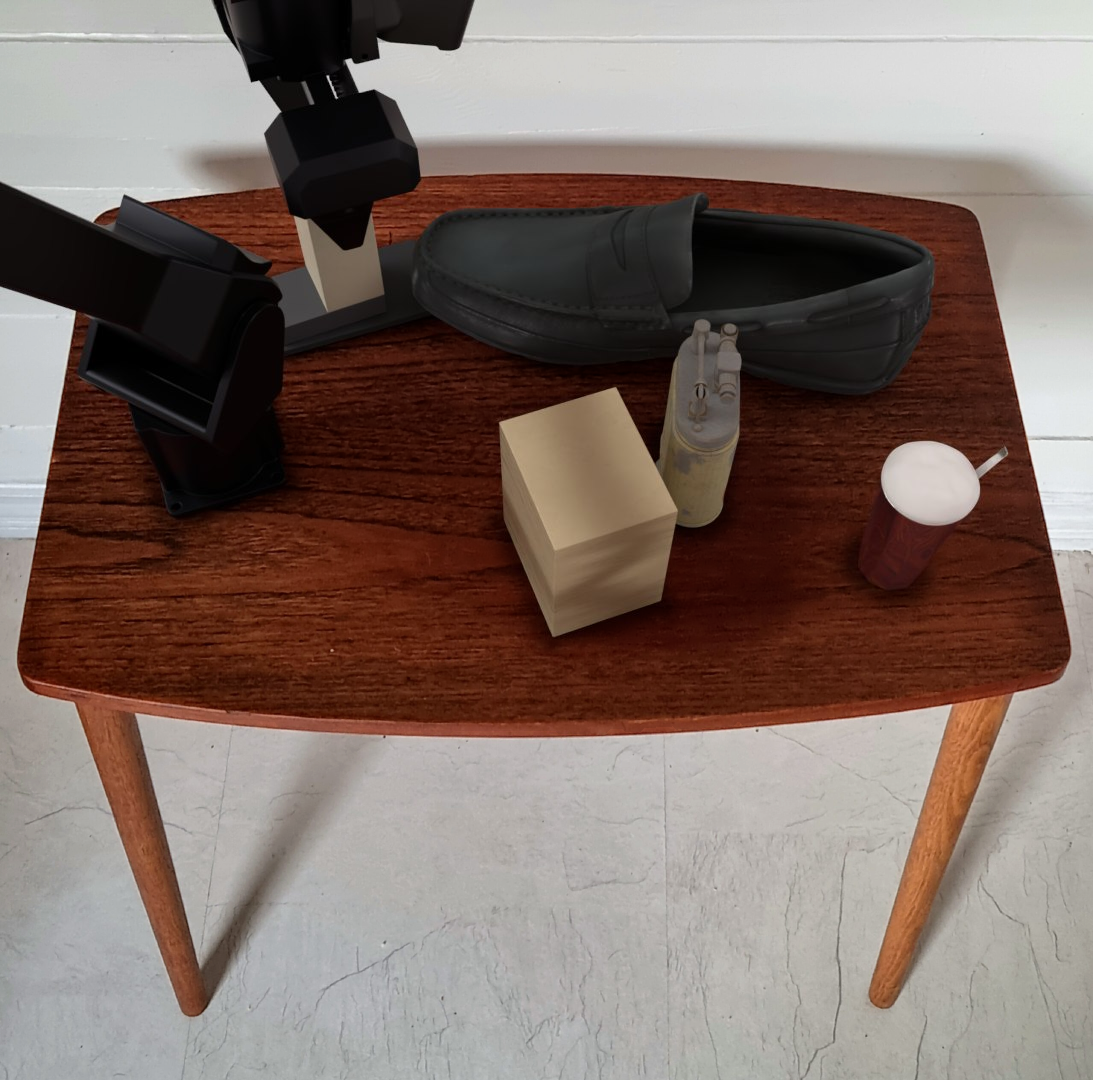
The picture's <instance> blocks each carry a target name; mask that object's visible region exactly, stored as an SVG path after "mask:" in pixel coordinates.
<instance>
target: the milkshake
mask: <svg viewBox="0 0 1093 1080" xmlns="http://www.w3.org/2000/svg"><path fill="white" fill-rule="evenodd" d="M1008 455H1009V452H1008V449H1007V447H1006V446H1005V445H1004V446H1003V447H1001V448H1000V449H999V450H997V451H996V453H994V454H993V455H992V456H991V457H989V458H988V459H987V460H986V461H984V462H983V463H982V464H981V465H979V467H977V468H976V469H975V468H974V466H973V464H972V463H971V461H969V459H968V458H967V457H966V456H965V454H963V453H962V452H961V451H959V450H958V449H956V448H954V447H952V446H950V445H948V444H946V443H942V442H938V441H933V440H922V441H921V440H920V441H910V442H905V443H904V444H901V445H899V446H897V447H896V448H895V449H893V450H892V451H891V452H890V453H889V454H888V456H887V458H886V459H885V461H884V463H883V466H882V468H881V472H880V477H879V480H878V485H877V488H876V493H875V496H874V500H873V504H872V507H871V510H870V513H869V516H868V520H867V523H866V526H865V529H864V532H863V535H862V540H861V542H860V545H859V549H858V569H859V571H860V572H861V574H863V576H864V578H865V579H866V580H867V581H868V583H869V584H871V585H874V586H876V587H878V588H880V589H883V590H885V591H895V590H901V589H907V588H908V587H909V586H910V585H912V583H913V582H914V581H915V580H916V579H917V578H918V577H919V576H920V575H921V573H923V571H924V569H925V568H927V566H928V564H929V563H930V562H931V560H932V559H933V558H934V556H935V555H936V554H937V552H938V551H939V550H940V549H941V547H942V546H943V544H944V543H945V542H946V540H947V539H948V538H949V537H950V536H951V535H953V532H955V530H957V528H958V527H959V526H960V524H961V523H962V522H963V521H964V520H965V519H966V518H967V516H968V515H969V514H970V513H971V512H972V510H973V509H974V508H975V506H976V505H977V503H978V501H979V498H980V495H981V486H980V480H979V479H980V478H981V477H983V476H984V475H985V474H986V473H987V472H989V471H990V470H991V469H993V468H994V467H995V466H996V465H998V463H999V462H1001V461H1002V460H1004V458H1006V457H1007V456H1008Z"/></svg>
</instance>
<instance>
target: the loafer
mask: <svg viewBox="0 0 1093 1080" xmlns="http://www.w3.org/2000/svg"><path fill="white" fill-rule="evenodd" d="M709 206H710V198H709V196H708V195H707V194H706V193H704V192H700V191H699V192H697V193H694V194H691V195H688V196H685V197H682V198H679V199H676V200H672V201H669V202H667V203H657V204H648V205H647V204H645V205H644V204H643V205H641V204H640V205H620V206H615V205H600V206H594V207H593V206H592V207H591V206H584V207H581V206H579V207H482V208H481V207H480V208H461V209H453V210H452V211H446V212H444V213H441V214H440V215H439V216H437V217H435V218H434V219H433V220H432V221H431V222H430V223H429V225H428V226H427V227H426V228H425V229H423V231H422V233H421V234H420V235H419V237H418V239H417V241H415V242H416V245H415V247H414V251H413V256H412V262H411V270H410V277H411V282H412V291H413V294H414V296H415V298H416V299H417V301H418V302H419V303H420V304H421V306H422V307H424V308H425V309H426V310H427V311H429V312H430V313H431V314H433V315H432V316H434V317H435V318H437V319H438V320H441V321H442V322H444V323H445V324H447V325H449V326H450V327H452V328H454V329H456V330H458V331H460V332H462V333H464V334H465V335H467V336H469V337H471V338H472V339H474V340H476V341H479V342H481V343H483V344H485V345H487V346H490V347H493V348H496V349H497V350H500V351H504V352H506V353H510V354H513V355H517V356H521V357H524V358H525V359H527V360H533V361H536V362H541V363H546V364H552V365H553V364H555V365H569V366H580V367H581V366H583V367H584V366H588V365H589V366H594V365H604V364H614V363H619V362H625V361H627V362H628V361H629V362H639V361H640V362H641V361H644V360H645V361H646V360H652V359H658V358H668V357H677V356H678V352H679V349H680V347H681V345H682V344H683V342H684V341H685V340H686V339H687V338H689V337H690V336H692V333H693V331H694V325H695V322H696V321H697V320H700V319H704V320H707V321H708V322H709V323H710V332H715V333H718V334H720V333H721V329H722V326H723V325H725V324H734V325H735V326H736V327H737V328H738V335H737V339H736V345H735V347H736V349H737V351H738V353H740V356H741V368H740V371H742V372H744V373H747V374H748V375H751V376H753V377H756V378H759V379H768V380H770V381H772V382H774V383H777V384H781V385H785V386H789V387H794V388H798V389H803V390H809V391H815V392H824V393H829V394H838V395H845V396H846V395H847V396H863V395H869V394H872V393H875V392H877V391H880V390H881V389H884V388H885V387H886V386H889V385H890V384H891V383H893V382H895V380H896V379H897V378H898V376H899V375H900V373H901V372H902V370H903V368H904V367H905V366H906V365H907V364H908V362H909V360H910V358H911V356H912V354H913V352H914V350H915V349H916V348H917V346H918V344H919V342H920V341H921V337H922V335H923V332H924V329H925V328H926V327H927V325H928V323H929V322H930V320H931V316H932V315H931V314H932V312H933V306H932V305H933V301H932V296H931V292H932V291H933V289H934V284H935V269H936V262H935V257H934V255H933V254H932V251H930V249H929V248H928V247H926V246H925V245H922V244H921V243H918V242H917V241H914V240H912V239H911V238H908V237H906V236H903V235H900V234H897V233H894V232H889V231H885V230H879V229H874V228H871V227H868V226H865V225H860V224H857V223H851V222H845V221H839V220H838V221H837V220H829V219H828V220H827V219H819V218H811V217H804V216H797V215H784V214H771V213H761V212H756V211H750V210H746V209H738V208H725V207H721V208H720V207H709Z"/></svg>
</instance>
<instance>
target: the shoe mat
mask: <svg viewBox="0 0 1093 1080" xmlns="http://www.w3.org/2000/svg"><path fill="white" fill-rule="evenodd" d="M416 242H417V241H416V240H415V239H414V238H412V239H407V240H404V241H400V242H397V243H392V244H389V245H386V246H381V247H377V250H378V256H379V262H380V268H381V275H382V281H383V287H384V294H385V299H386V306H387V312H384V313H381V314H378V315H375V316H372V317H369V318H366V319H363V320H360V321H357V322H354V323H351V324H348V325H345V326H342V327H339V328H336V329H333V330H330V331H327V332H324V333H321V334H318V335H315V336H312V337H309V338H306V339H303V340H300V341H297V342H294V343H291V344H288V345H285V346H284V358H285V357H287V356H291V355H295V354H298V353H302V352H306V351H309V350H313V349H316V348H321V347H324V346H327V345H330V344H334V343H338V342H341V341H345V340H348V339H352V338H355V337H359V336H364V335H365V334H370V333H374V332H376V331H380V330H381V331H382V330H384V329H387V328H391V327H394V326H399V325H401V324H405V323H408V322H412V321H415V320H419V319H423V318H426V317H430V316H434V315H433V314H431V313H430V312H429V311H427V310H426V309H425V308H424V307H422V306H421V304H420V303H419V302H418V301H417V299H416V298H415V296H414V294H413V291H412V282H411V277H410V270H411V262H412V256H413V251H414V247H415V245H416Z"/></svg>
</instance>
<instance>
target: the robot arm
mask: <svg viewBox="0 0 1093 1080" xmlns="http://www.w3.org/2000/svg"><path fill="white" fill-rule="evenodd" d="M475 2H476V0H211V3H212V6H213V9H214V10H215V12H216V15H217V17H218V20H219V23H220V26H221V28H222V31H223V33H224V34H225V35H226V37H227V38H228V40H229V41H230V43H231V44H232V46H234V48H235V50H236V51H237V52H238V54H239V55H240V58H241V60H242V62H243V66H244V68H245V70H246V73H247V76H248V79H249V81H250V83H256V82H259V83H260V85H261V86H262V87H263V88H264V90H265V91H266V93H267V94H268V95H269V97H270V98H271V100H272V101H273V102H274V104H275V106H276V107H277V108H278V110H279V111H280V112H279V113H278V114H277V115H276V117H275V118H274V119H273V121H272V122H271V124H270V125H269V126H268V127H267V128H266V130H265V131H264V133H263V135H264V140H265V144H266V148H267V151H268V156H269V158H270V162H271V164H272V168H273V171H274V174H275V175H274V176H275V178H276V181H277V184H278V186H279V188H280V192H281V194H282V196H283V199H284V202H285V205H286V208H287V210H288V214H289V215H290V216H293V217H294V216H296V217H299V218H301V219H304V220H306V219H311V220H312V221H313V222H314V223H315V224H316V225H317V226H318V227H319V228H320V229H321V230H322V231H323V232H324V233H325V234H326V235H328V236H329V237H330V238H331V239H332V240H333V241H334V242H335V243H336V244H337V245H338V246H339V247H340V248H341V249H342V250H344V251H347V250H351V249H355V248H358V247H361V246H362V245H363V244H364V240H365V235H366V231H367V227H368V223H369V219H370V215H371V213H372V210H373V206H374V204H375V203H376V202H379V201H381V200H385V199H389V198H393V197H397V196H400V195H401V196H402V195H405V194H409V193H412V192H414V191H415V189H416V188H417V187H418V185H419V184H420V182H421V181H422V174H421V167H420V157H419V150H418V147H417V143H416V142H415V139H414V138H413V136H412V134H411V131H410V129H409V127H408V125H407V122H406V120H405V118H404V115H403V114H402V111H401V109H400V107H399V105H398V102H397V100H396V99H393V98H392V97H390V96H388V95H386V94H384V93H382V92H381V91H379V90H377V89H375V88H373V89H369V90H365V91H359V89H358V86H357V83H356V81H355V80H354V77H353V75H352V72H351V71H350V68H349V66H348V64H347V61H346V60H351V61H352V63H353V64H354V65H360V64H363V63H364V64H365V63H368V62H371V61H375V60H380V59H381V55H380V48H379V41H378V40H381V41H384V42H386V43H391V44H403V45H416V46H426V47H427V46H429V47H436V48H437V49H438V50H439V51H444V52H451V51H452V52H453V51H456V50H458V49H460V48H461V46H462V44H463V40H464V37H465V34H466V30H467V27H468V24H469V21H470V17H471V14H472V12H473V8H474V4H475ZM273 264H274V263H273V262H272V261H271V260H269V259H267V258H266V257H263V256H260V255H259V254H256V253H254V252H252V251H249V250H247V249H245V248H242V247H240V246H238V245H235V244H234V243H231V242H230V241H229V240H227V239H225V238H223V237H221V236H218V235H216V234H214V233H213V232H210V231H208V230H205V229H203V228H201V227H198V226H196V225H195V224H192V223H189V222H187V221H185V220H183V219H180V218H179V217H176V216H174V215H172V214H169V213H167V212H165V211H163V210H161V209H158V208H156V207H154V206H152V205H150V204H147V203H145V202H143V201H141V200H138V199H136V198H134V197H132V196H130V195H128V194H126V193H124V194H123V196H122V197H121V201H120V204H119V207H118V212H117V215H116V220H115V221H113V222H110V223H108V224H106V225H104V224H98V223H95V222H94V221H92V220H89V219H87V218H85V217H82V216H79V215H77V214H75V213H73V212H71V211H69V210H67V209H64V208H62V207H59V206H57V205H55V204H53V203H50V202H48V201H47V200H44V199H42V198H40V197H37V196H35V195H33V194H30V193H28V192H26V191H23V190H21V189H19V188H17V187H15V186H12V185H10V184H8V183H5V182H3V181H1V180H0V288H3V289H6V290H9V291H12V292H14V293H19V294H21V295H24V296H27V297H30V298H34V299H37V300H40V301H43V302H46V303H50V304H52V305H54V306H55V305H56V306H59V307H62V308H65V309H68V310H72V311H74V312H77V313H80V314H83V315H85V316H86V317H88V318H89V323H88V327H87V331H86V335H85V338H84V342H83V347H82V350H81V354H80V358H79V361H78V366H77V370H76V375H77V377H78V378H80V379H81V380H83V381H84V382H86V383H87V384H89V385H90V386H92V387H94V388H95V389H97V390H99V391H100V392H102V393H106V392H107V393H108V394H111V395H113V396H114V397H116V398H119V399H121V400H122V401H125V402H127V406H128V409H129V414H130V417H131V421H132V426H133V429H134V431H135V433H136V435H137V437H138V439H139V442H140V444H141V445H142V447H143V450H144V451H145V453H146V455H147V458H148V459H149V461H150V463H151V465H152V467H153V469H154V471H155V474H156V475H157V478H158V480H159V484H160V488H161V492H162V496H163V500H164V503H165V507H166V510H167V513H168V514H169V516H170V517H171V518H172V519H176V520H177V519H182V518H186V517H188V516H192V515H195V514H198V513H201V512H205V511H208V510H212V509H215V508H219V507H222V506H224V505H229V504H232V503H235V502H238V501H241V500H244V499H248V498H252V497H254V496H255V497H256V496H258V495H261V494H264V493H268V492H271V491H275V490H278V489H281V488H284V486H286V485H287V482H288V477H287V474H286V471H285V467H284V465H283V461H282V458H281V455H280V453H282V452H284V451H285V449H286V447H287V444H286V442H285V438H284V436H283V432H282V430H281V426H280V423H279V420H278V416H277V413H276V410H275V407H274V404H273V403H274V401H276V399H277V398H278V397H279V395H281V393H282V391H283V389H284V388H283V387H284V361H285V357H284V338H285V317H284V314H283V311H282V310H281V308H280V307H278V303H279V302H280V301H281V300H282V297H283V295H282V291H281V289H280V287H279V285H278V283H277V282H275V281H274V280H273V279H272V278H271V277H272V276H269V275H268V272H269V271H270V270H271V269H272V267H273ZM276 478H279V479H277V480H275V479H276ZM178 507H179V509H176V508H178ZM175 509H176V510H175Z"/></svg>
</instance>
